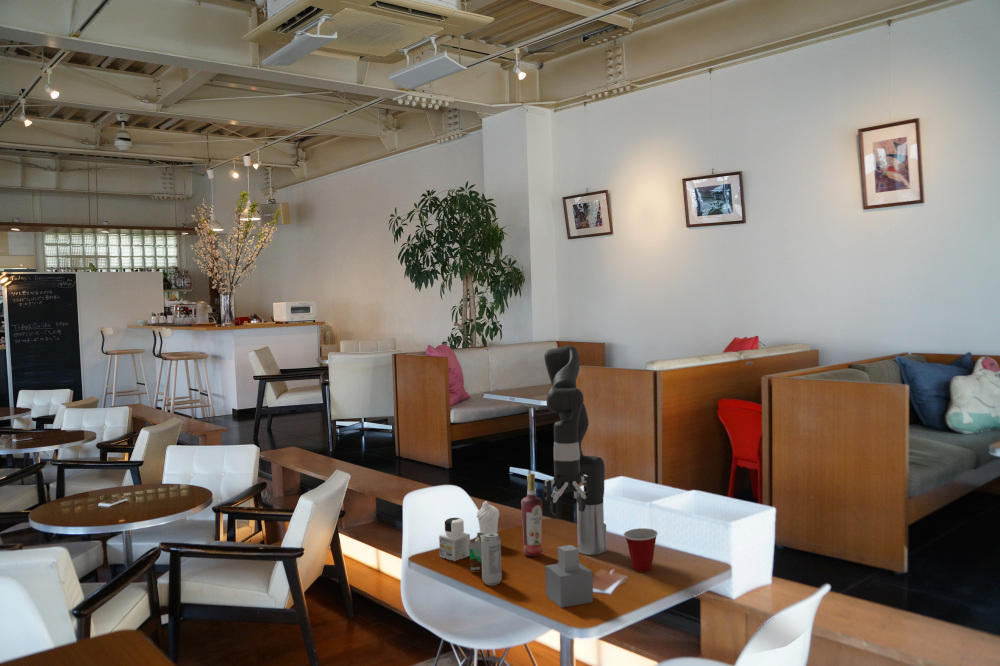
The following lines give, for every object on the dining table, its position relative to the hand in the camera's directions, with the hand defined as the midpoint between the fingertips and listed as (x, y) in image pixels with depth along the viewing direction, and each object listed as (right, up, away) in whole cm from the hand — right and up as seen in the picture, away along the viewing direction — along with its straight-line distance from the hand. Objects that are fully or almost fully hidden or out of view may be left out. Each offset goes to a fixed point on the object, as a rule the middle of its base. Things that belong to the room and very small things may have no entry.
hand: (568, 513), depth 211 cm
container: (-35, -26, +42) cm, 60 cm away
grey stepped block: (0, -25, +1) cm, 25 cm away
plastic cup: (+26, -24, +24) cm, 43 cm away
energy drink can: (-22, -26, +15) cm, 37 cm away
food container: (-25, -26, +29) cm, 46 cm away
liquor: (-8, -25, +41) cm, 49 cm away
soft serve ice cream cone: (-24, -25, +53) cm, 64 cm away
